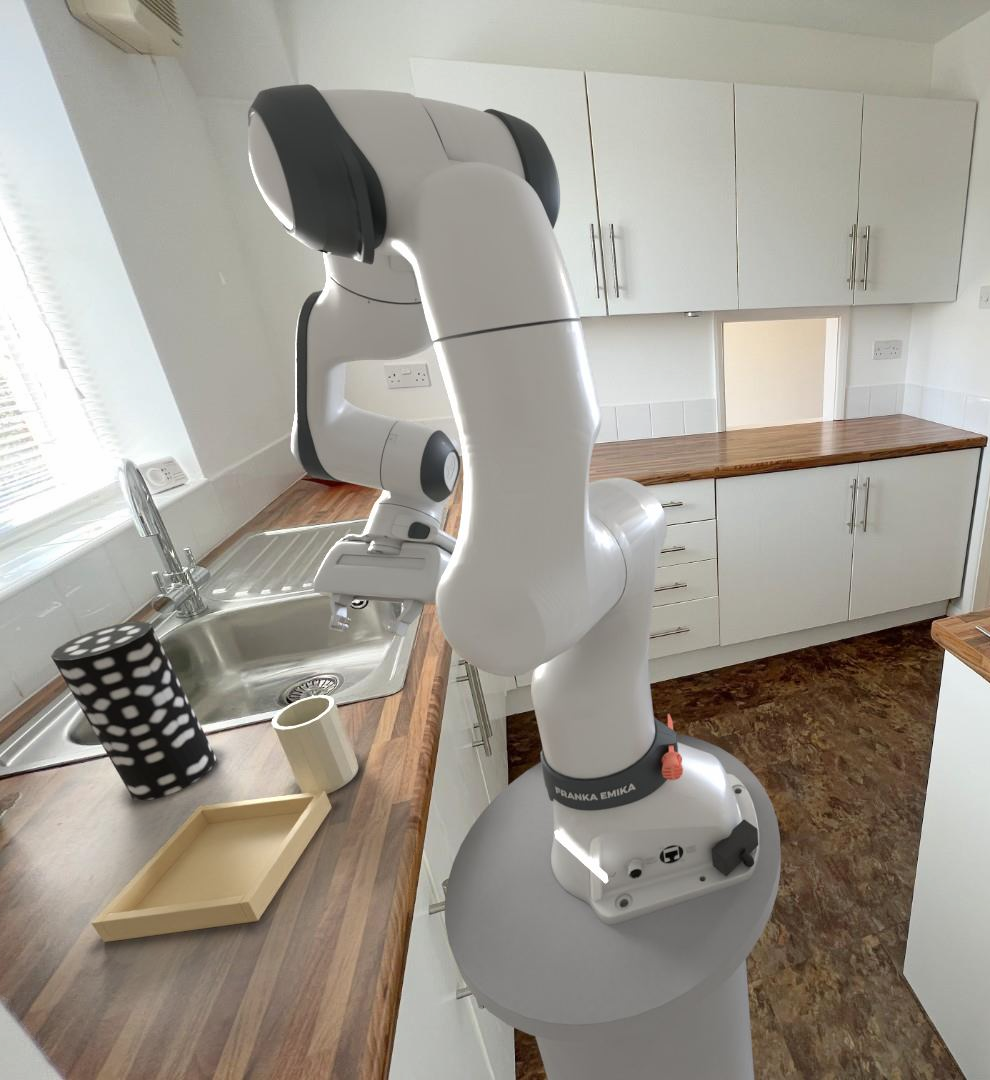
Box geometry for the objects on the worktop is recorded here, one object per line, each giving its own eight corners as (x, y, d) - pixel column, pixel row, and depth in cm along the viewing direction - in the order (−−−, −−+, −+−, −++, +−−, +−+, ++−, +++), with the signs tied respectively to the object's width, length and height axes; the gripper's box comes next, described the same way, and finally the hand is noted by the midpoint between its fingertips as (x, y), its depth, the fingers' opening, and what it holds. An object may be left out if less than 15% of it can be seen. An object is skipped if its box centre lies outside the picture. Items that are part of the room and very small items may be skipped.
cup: (367, 756, 75) (344, 692, 71) (343, 793, 69) (316, 725, 66) (317, 762, 75) (291, 698, 71) (289, 800, 69) (259, 732, 65)
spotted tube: (133, 774, 75) (58, 640, 67) (215, 742, 80) (153, 614, 72) (127, 812, 69) (44, 669, 61) (216, 775, 74) (149, 639, 66)
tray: (332, 807, 68) (325, 790, 67) (258, 921, 55) (248, 902, 54) (208, 823, 66) (199, 805, 66) (103, 942, 54) (91, 923, 53)
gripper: (323, 524, 81) (282, 620, 76) (447, 529, 76) (413, 632, 71) (357, 542, 87) (322, 632, 82) (475, 547, 82) (446, 644, 77)
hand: (366, 632), depth 77 cm, fingers open, 8 cm apart
